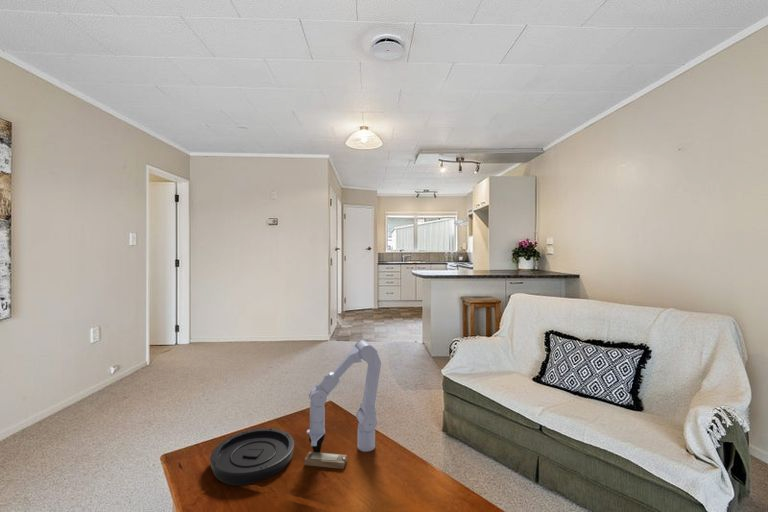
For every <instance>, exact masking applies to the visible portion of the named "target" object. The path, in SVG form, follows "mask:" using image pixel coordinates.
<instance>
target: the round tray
mask: <svg viewBox="0 0 768 512" xmlns="http://www.w3.org/2000/svg"><path fill="white" fill-rule="evenodd" d="M294 448H295V439H294V438H293V436H292V435H291V434H289V433H288V432H286V431H284V430H282V429H277V428H255V429H254V428H253V429H249V430H245V431H242V432H239V433H237V434H234V435H231V436H229V437H227V438H225V439H224V440H222V441H221V442H219V444H218V445H217V446H216V447H214V449H213V450H212V452H211V454H210V458H209V459H210V460H209V461H210V468H211V471H212V473H213V475H214V477H215V478H216V479H217V480H218V481H220V482H221V483H222V484H226V485H229V486H238V487H239V486H240V487H241V486H243V487H245V486H250V485H253V483H256V482H259V481H264V480H267V479H269V478H271V477H272V476H275V475H277V474H278V473H279V472H281V471H282V470H283V469H284V468H286V467H287V465H288V464H289V463H290V462H291V460H292V457H293V454H294V450H295V449H294Z"/></svg>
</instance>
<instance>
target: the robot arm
mask: <svg viewBox="0 0 768 512" xmlns="http://www.w3.org/2000/svg"><path fill="white" fill-rule="evenodd" d="M362 360H363V361H364V362H365V363H367V369H366V370H367V371H366V376H365V382H364V389H363V395H362V401H361V403H360V404H359V408H358V409H357V411H356V414H355V417H356V420H357V421H358V424H357V450H359V451H361V452H363V453H365V452H367V453H368V452H372V451H373V450H375V448H376V428H377V425H378V421H377V410H376V406H375V405H376V400H377V395H378V394H377V393H378V385H379V381H380V374H381V368H382V367H381V366H382V362H381V358H380V356H379V354H378V351H377V349H376V348H374V346H372V345H371V344H370V343H369V342H368V341H367V340H365V339H360V340H358V341H356V343H355V344H354V345H353V346H351V348H350V350H349V352H348V353H347V354H346V355H345V356H344V358H343V359H342V360H341V362H340V363H339V364H338V365H337V367H336V368H335V369H334V370H333V371H330V372H327V373H325V374H324V376H323V378H322V380H321V381H320V382H318V384H316V385H315V387H313V388H312V389H311V390H310V391H309V393H308V397H309V398H308V399H309V400H310V404H309V429H307V430H306V435H308V434H309V438H308V440H309V443H310V447H312V452H320V453H321V450H322V444H323V442H324V440H325V436H326V428H325V427H326V425H325V423H326V422H325V418H326V416H325V415H326V414H325V413H326V408H325V404H326V403H327V399H328V398H327V397H328V396H329V395H330V394H331V393H332V391H333V390H334V389H335V388H336V387H337V386H338V385H339V384H340V379H341V377H342V376H343V375H344V374H345V373H346V371H348V370H349V369H350V368H351V367H352V365H354V364H358V363H362V362H363V361H362Z"/></svg>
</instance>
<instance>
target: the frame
mask: <svg viewBox="0 0 768 512" xmlns="http://www.w3.org/2000/svg"><path fill="white" fill-rule="evenodd" d="M347 461H348V455H347V454H341V453H340V454H339V453H338V454H337V453H330V452H329V453H328V452H321V451H320V452H313V451H308V453H307V455H306V457H304V466H311V467H321V468H328V469H329V468H330V469H331V468H332V469H339V470H340V469H342V470H343V469H344V468H345V466H346V464H347Z"/></svg>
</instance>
